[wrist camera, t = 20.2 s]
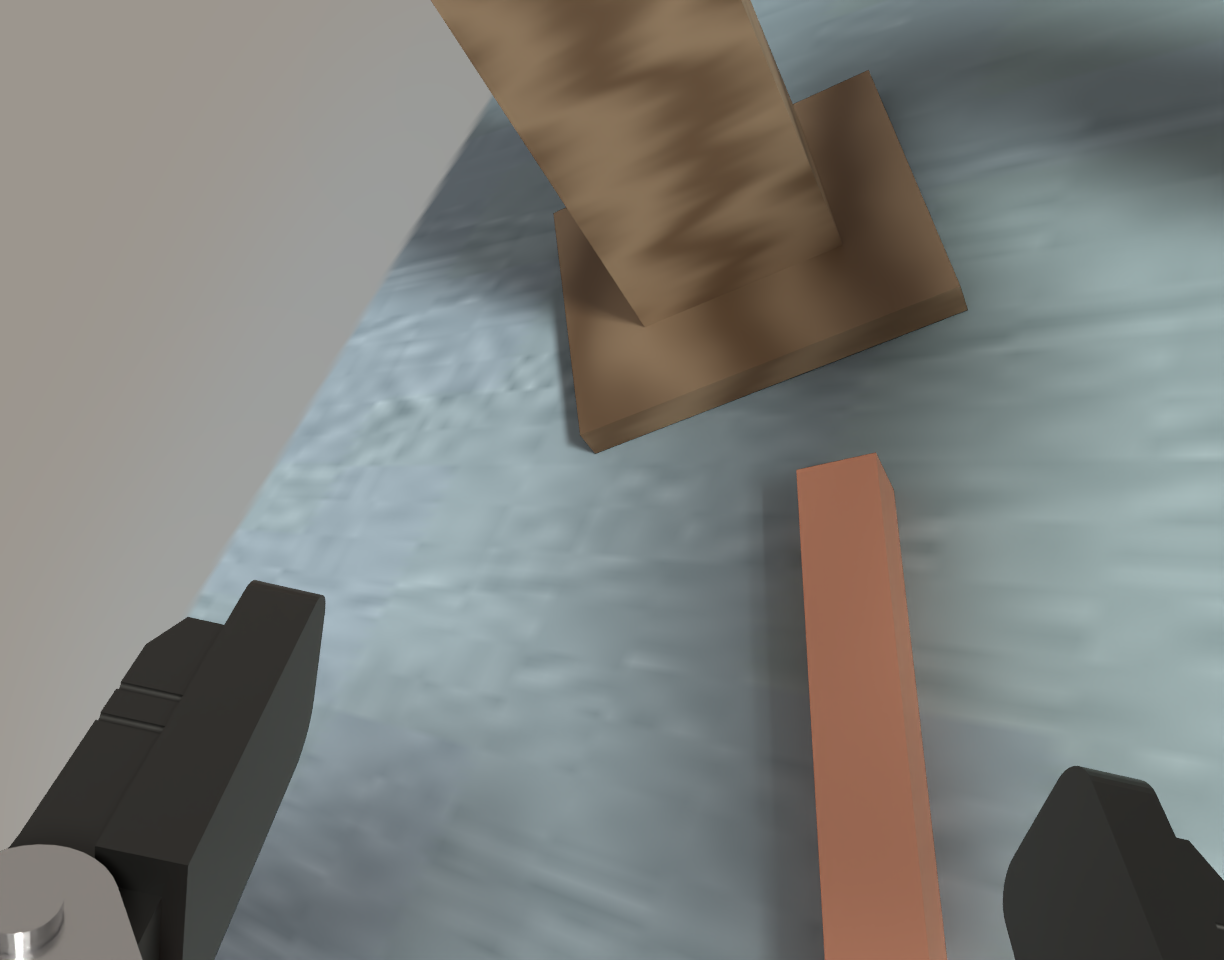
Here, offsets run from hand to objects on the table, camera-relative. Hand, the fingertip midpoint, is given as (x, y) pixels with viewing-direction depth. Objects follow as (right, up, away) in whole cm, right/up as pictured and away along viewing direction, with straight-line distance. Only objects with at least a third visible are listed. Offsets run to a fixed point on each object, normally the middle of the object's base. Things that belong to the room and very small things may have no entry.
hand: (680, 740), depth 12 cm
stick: (+9, -9, +29) cm, 31 cm away
